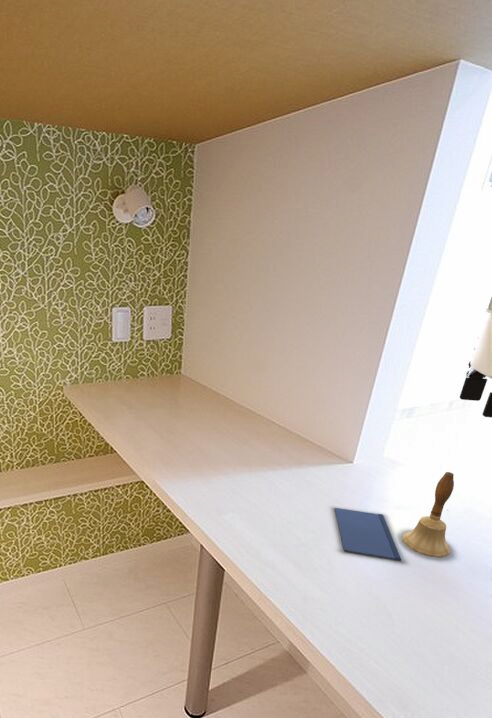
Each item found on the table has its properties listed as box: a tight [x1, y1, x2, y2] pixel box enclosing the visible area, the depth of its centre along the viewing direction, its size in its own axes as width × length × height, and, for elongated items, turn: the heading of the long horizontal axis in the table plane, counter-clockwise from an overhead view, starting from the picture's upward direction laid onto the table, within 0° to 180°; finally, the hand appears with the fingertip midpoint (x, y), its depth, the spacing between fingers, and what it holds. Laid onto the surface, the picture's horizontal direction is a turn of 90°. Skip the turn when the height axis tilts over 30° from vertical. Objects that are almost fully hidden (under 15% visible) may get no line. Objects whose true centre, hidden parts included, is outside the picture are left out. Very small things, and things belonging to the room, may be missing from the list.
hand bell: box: [401, 471, 455, 558], centre depth 83 cm, size 8×8×16 cm
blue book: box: [334, 507, 402, 562], centre depth 90 cm, size 10×16×1 cm, turn 164°
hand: (480, 407), depth 75 cm, fingers open, 9 cm apart
